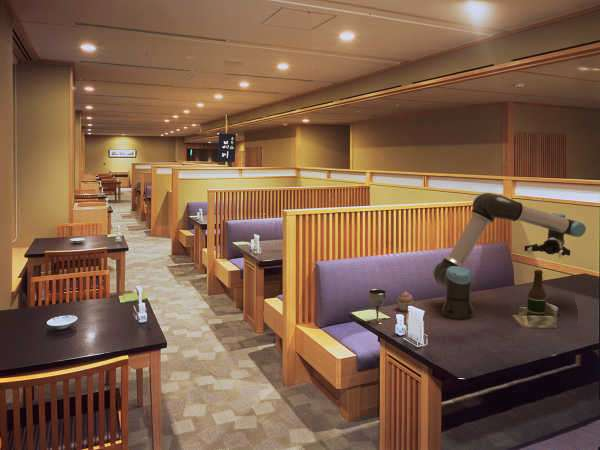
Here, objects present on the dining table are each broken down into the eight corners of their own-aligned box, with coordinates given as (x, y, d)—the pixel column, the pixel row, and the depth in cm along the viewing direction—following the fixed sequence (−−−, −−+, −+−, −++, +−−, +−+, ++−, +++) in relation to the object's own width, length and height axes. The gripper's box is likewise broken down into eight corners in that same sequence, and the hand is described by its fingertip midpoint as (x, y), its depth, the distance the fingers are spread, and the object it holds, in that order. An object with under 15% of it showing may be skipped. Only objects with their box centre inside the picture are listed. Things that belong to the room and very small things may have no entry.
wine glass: (381, 325, 224) (382, 294, 222) (366, 322, 229) (366, 292, 226) (388, 320, 231) (388, 290, 229) (373, 317, 235) (373, 288, 233)
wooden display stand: (521, 327, 218) (522, 310, 216) (512, 317, 231) (513, 300, 230) (556, 328, 216) (557, 310, 215) (545, 317, 229) (546, 301, 228)
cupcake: (410, 306, 251) (411, 288, 249) (417, 312, 242) (417, 293, 240) (393, 307, 250) (394, 289, 248) (399, 313, 240) (399, 294, 239)
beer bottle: (547, 323, 219) (550, 272, 215) (529, 322, 220) (531, 272, 217) (542, 317, 226) (545, 268, 222) (524, 316, 228) (527, 268, 224)
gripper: (579, 256, 236) (572, 264, 219) (525, 250, 251) (515, 257, 234) (580, 241, 235) (573, 248, 218) (526, 236, 250) (516, 243, 233)
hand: (543, 253), depth 226 cm, fingers open, 13 cm apart
